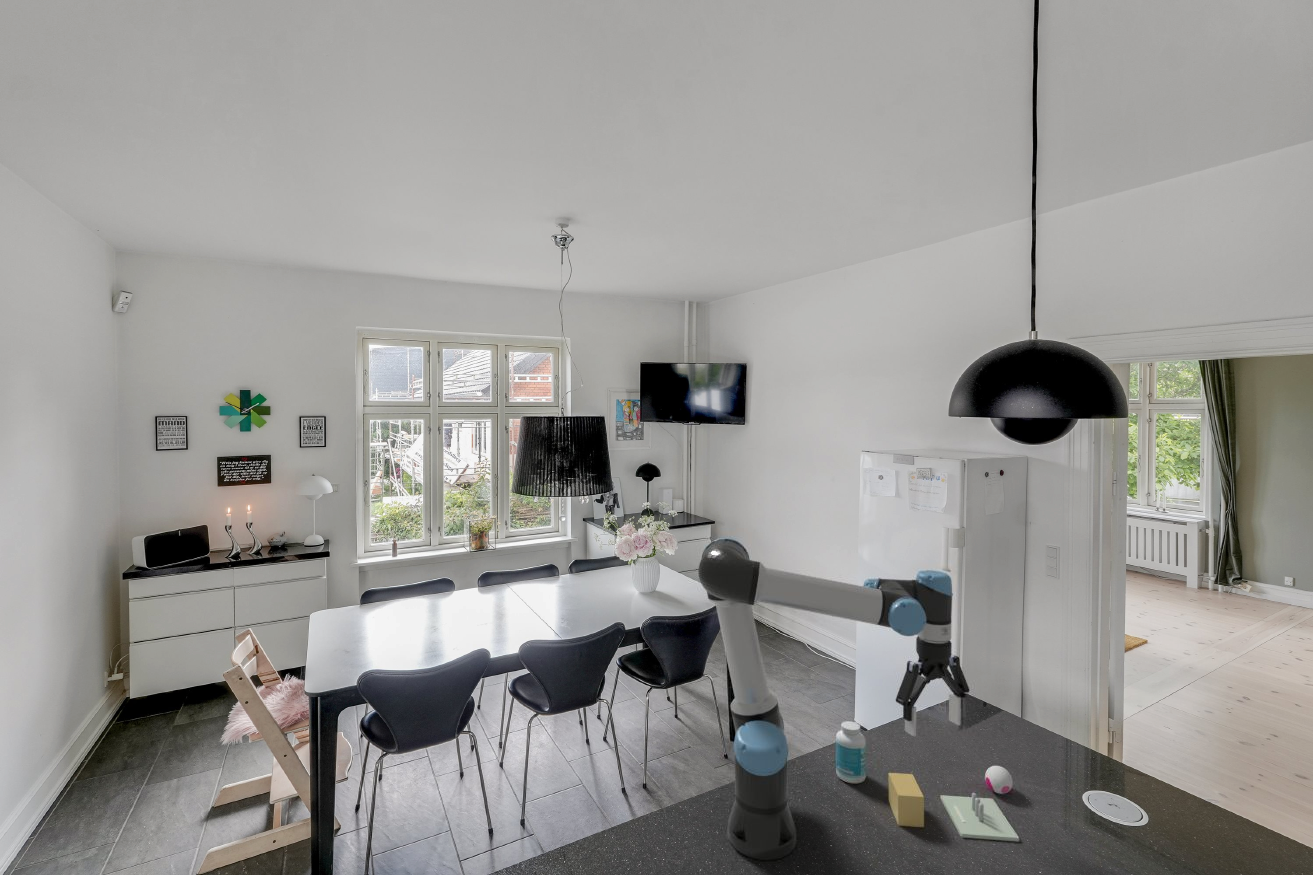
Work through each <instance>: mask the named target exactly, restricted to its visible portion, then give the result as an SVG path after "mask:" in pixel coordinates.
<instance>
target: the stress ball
mask: <svg viewBox="0 0 1313 875" xmlns="http://www.w3.org/2000/svg"><path fill="white" fill-rule="evenodd" d="M984 780H985V783H986V785H987V789H989V790H991V791H992V792H995V793H996V794H998V795H999V794H1000V795H1004V794H1007V793H1009V794H1011V795H1012V792H1011V789H1012V788H1013V778H1012V775H1011V774H1010V772H1009V771H1008V770H1007V769H1006V768H1005V767H1003V766H1000V765H992V766H991V765H990V767H988V768H987V770H986V771H985V774H984ZM982 788H984V789H986V787H985V786H982Z"/></svg>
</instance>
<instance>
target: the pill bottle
mask: <svg viewBox="0 0 1313 875" xmlns="http://www.w3.org/2000/svg"><path fill="white" fill-rule="evenodd" d="M840 727H841V729H840V730H838V732H836V735H835V769H836V771H835V772H836V775H837V778H839V779H840V780H841V781H844V782H846V783H848V784H861V783H863V782H865V779H866V777H867V774H866V773H867V758H866V757H867V756H866V754H867V753H866V752H867V749H866V748H867V747H866V746H867V740H866V737H865V736H864V735H863V734H862V733H861V726H860V724H858V723H857V722H854V721H850V720H847V721H843V722H842V723H841V726H840Z"/></svg>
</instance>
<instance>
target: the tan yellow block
mask: <svg viewBox="0 0 1313 875" xmlns="http://www.w3.org/2000/svg"><path fill="white" fill-rule="evenodd" d="M887 774H888V803H889V805H890V808H891V811H892V814H893V816H894V818H895V820H896V823H897V826H900V827H903V826H904V827H915V828H924V827H925V816H924V815H925V809H924V808H925V797H924V796H925V795H923V794H924V793H923V792H922V791H921V788H920V787H919V784H918V783H917V780H916V779H915V776H914V775H913V773H900V772H888V773H887Z"/></svg>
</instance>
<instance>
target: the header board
mask: <svg viewBox="0 0 1313 875" xmlns="http://www.w3.org/2000/svg"><path fill="white" fill-rule="evenodd" d="M940 801H941V802H942V804H943V805H944V808H945V810H946V811H947V813H948V815H949V818H950V819H951V821H952V824H954V827H955V828H956V830H957V832H958V834H959V836H960V837H961V838H967V839H979V840H994V841H1004V842H1005V841H1008V842H1020V837H1019V836H1018V834H1017V832H1016V831H1015V830H1014V828H1013V827H1012V825H1011V824H1010V822H1009V821H1008V819H1007V818H1006V816H1005V814H1003V813H1004V812H1002V810H1001V809H1000V808H999V805H998V804H997V803H996V801H995V800H994V799H993V798H988V797H986V798H985V797H978V795H977V793H976V792H972V793H971V796H970V797H969V796H956V795H942V794H940Z"/></svg>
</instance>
